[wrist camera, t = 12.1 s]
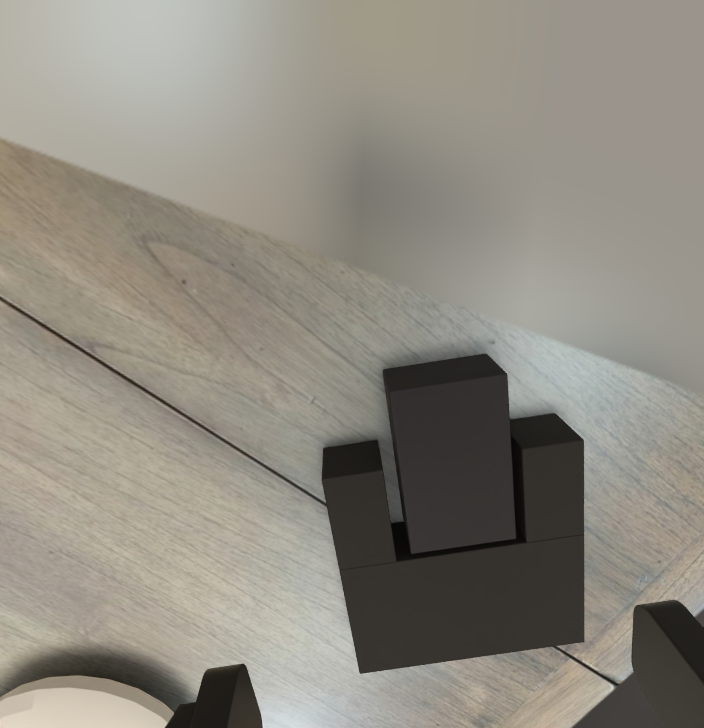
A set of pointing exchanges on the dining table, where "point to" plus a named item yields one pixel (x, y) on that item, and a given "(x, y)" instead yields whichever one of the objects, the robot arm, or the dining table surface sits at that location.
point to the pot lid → (81, 705)
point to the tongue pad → (452, 452)
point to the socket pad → (463, 560)
